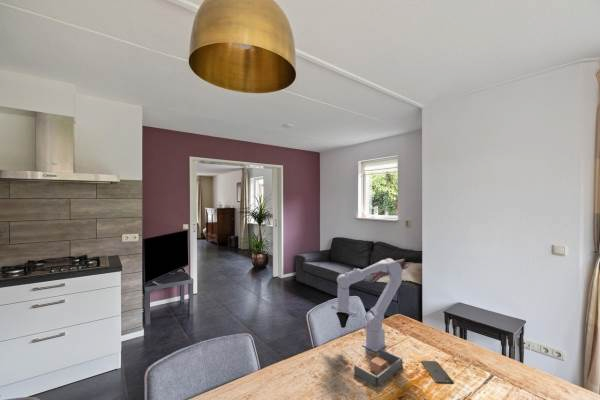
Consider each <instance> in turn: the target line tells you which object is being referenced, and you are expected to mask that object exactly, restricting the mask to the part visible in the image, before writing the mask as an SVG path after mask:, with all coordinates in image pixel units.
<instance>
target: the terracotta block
mask: <svg viewBox="0 0 600 400" xmlns="http://www.w3.org/2000/svg"><path fill="white" fill-rule="evenodd" d="M369 366H370V367H369V370H370V371H372V373H376V375H378V374H380V373H381V372H382V371H384V370H385V369H386V368H388V361H387V360H385V359H383V358H381V357H379V356H375V357H373V358H372V359H371V360H370V361H369Z"/></svg>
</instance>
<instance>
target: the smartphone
mask: <svg viewBox="0 0 600 400" xmlns="http://www.w3.org/2000/svg"><path fill="white" fill-rule="evenodd" d="M420 363H421V365H422V366H423V367H424V369H425V371H426V372H427V373H428V375H429V376H430V377H431V379H432V380H433V381H434V383H436V384H441V385H443V384H445V385H453V384H454V385H455V381H453V379H452V378H451V377H450V375H449V374H448V373H447V371H445V369H444V368H443V367H442V365H440V363H439V362H438V361H436V360H421V361H420Z"/></svg>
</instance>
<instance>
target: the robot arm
mask: <svg viewBox="0 0 600 400" xmlns="http://www.w3.org/2000/svg"><path fill="white" fill-rule="evenodd" d="M377 272H383V273H387V275H388V278H389V279H388V282H387V284H386V285H385V287H384V288H383V291H382V293H381V294H380V296H379V297H378V300H377V302H376V303H375V305H374V306H373V307H371V308H370V310H368V311H367V312H366V313H365V315H364V320H365V321H366V325H365V343H363V344H362V345H361V346H362V347H364V348H367V349H369V350H371V351H373V352H375V353H377V352H379V349H382V350H383V348H385V347H386V346H387V344H386V342H385V341H386V340H385V338H386V335H385V334H386V333H385V329H384V328H383V322H384V320H385V312H386V311H387V309H388V307H389V305H390V303H391V302H392V301H393V299H394V297H395V294H396V293H397V291H398V289H399V288H400V286H401V284H402V278H403V275H402V273H403V268H402V265H401V264H400V262H397V261H396V260H394V259H393V258H391V257H390V258H389V257H387V258H385V259H381V260H380V261H377V262H375V263H374V264H371V265H368V266H367V267H365V268H363V269H360V268H356V267H355V268H353V270H351V271H348V272H346V271H345V272H344V273H341V274H338V276H337V277H336V283H337V304H335V303H333V304H332V303H331V304H330V309H331V310H336V312H335V313H336V316H337V319H338V320H339V321H338V322H339V323H340V327H341V328H342V329H345V328H346V327H347V326H346V325H347V323H348V320H349V318H350V316H352V317H353V318H355V317H357V311H355V310H353V309H351V308H350V286H351V285H353V284H355V283H356V284H357V283H358V282H360V281H363V280H364V278H365V277H366V276H368V275H372V274H374V273H377Z"/></svg>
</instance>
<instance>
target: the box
mask: <svg viewBox="0 0 600 400" xmlns="http://www.w3.org/2000/svg"><path fill="white" fill-rule="evenodd" d="M378 355H379V356H378V357H379V358H381V359H383V360H385V361H387V362H389V363H391V365H388V366H387V368H386V369H385V370H384V371H382V372H381V373H380V374H376V375H375V374H374V373H373V372H370V371H368V370H366V369H365V368H362V367H361V366H359V365H357V364H354V366H353V367H354V368H353V370H354V371H353V375H356V376H357V377H359V378H361V379H362V380H364V381H366V382H368V383H369V384H371V385H373V386H375V387H376V388H378V387H379V386H380V385H381V384H383V383H384V382H385V381H387V380H388V379H389V378H390V377H392V376H393V375H394V374H395V373H397V372H398V371H399V370H400V369H401V368H403V358H402V357H400V356H398V355H395V354H393V353H391V352H389V351H387V350H384V349H383V348H382V349H379V351H378Z"/></svg>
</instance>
